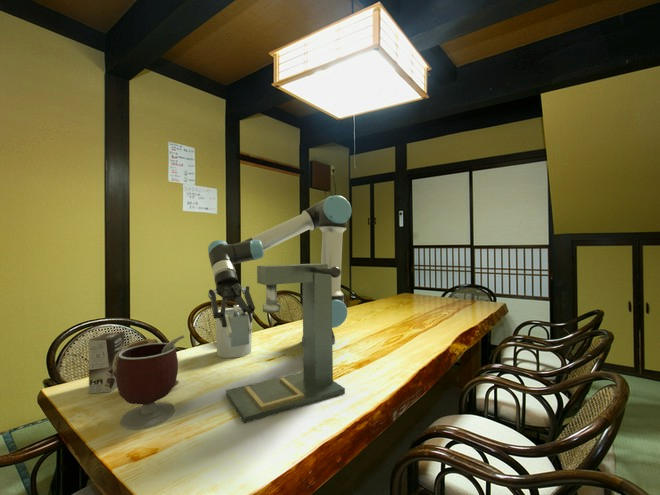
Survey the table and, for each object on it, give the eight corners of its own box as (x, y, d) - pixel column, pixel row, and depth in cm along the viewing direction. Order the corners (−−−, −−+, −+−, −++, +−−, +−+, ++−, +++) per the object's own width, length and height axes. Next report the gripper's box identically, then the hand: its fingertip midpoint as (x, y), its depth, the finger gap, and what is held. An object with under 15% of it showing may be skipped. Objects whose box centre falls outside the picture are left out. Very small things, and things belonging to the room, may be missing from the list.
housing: (242, 338, 106) (241, 302, 106) (249, 344, 100) (247, 305, 100) (225, 341, 103) (224, 304, 103) (231, 347, 97) (230, 307, 97)
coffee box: (111, 392, 97) (111, 339, 97) (88, 394, 96) (87, 340, 96) (125, 380, 106) (125, 331, 106) (104, 381, 105) (103, 332, 105)
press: (315, 373, 110) (313, 262, 110) (361, 404, 88) (359, 265, 88) (225, 395, 94) (224, 266, 94) (254, 439, 72) (252, 270, 72)
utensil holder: (251, 345, 143) (251, 306, 143) (254, 356, 129) (254, 312, 129) (216, 349, 138) (216, 308, 138) (215, 360, 124) (215, 315, 124)
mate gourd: (110, 437, 74) (109, 350, 74) (122, 409, 87) (121, 335, 87) (184, 421, 80) (183, 341, 80) (185, 398, 93) (184, 329, 93)
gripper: (249, 281, 119) (266, 334, 105) (196, 285, 110) (207, 345, 96) (253, 267, 115) (271, 321, 101) (198, 271, 105) (210, 331, 91)
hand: (240, 333), depth 98 cm, fingers closed on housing, 5 cm apart
